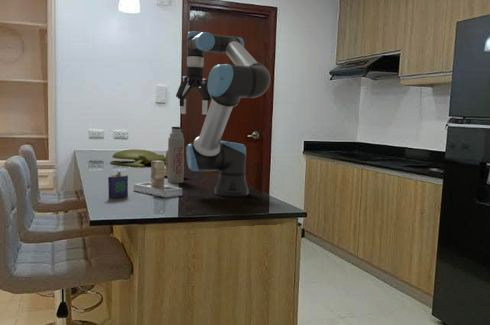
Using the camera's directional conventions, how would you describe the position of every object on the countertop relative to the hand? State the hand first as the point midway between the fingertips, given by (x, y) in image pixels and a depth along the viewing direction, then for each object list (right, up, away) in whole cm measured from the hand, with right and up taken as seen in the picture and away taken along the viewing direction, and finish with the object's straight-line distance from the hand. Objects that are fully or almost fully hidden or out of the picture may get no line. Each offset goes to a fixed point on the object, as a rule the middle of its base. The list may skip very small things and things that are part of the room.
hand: (194, 114), depth 212 cm
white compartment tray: (-15, -35, -10) cm, 40 cm away
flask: (-28, -37, -23) cm, 52 cm away
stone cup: (-17, -30, +43) cm, 55 cm away
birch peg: (-15, -35, -10) cm, 40 cm away
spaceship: (-48, -24, +98) cm, 111 cm away
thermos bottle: (-12, -32, +25) cm, 42 cm away
